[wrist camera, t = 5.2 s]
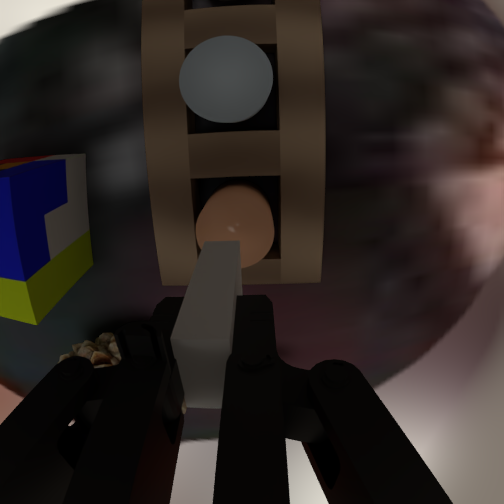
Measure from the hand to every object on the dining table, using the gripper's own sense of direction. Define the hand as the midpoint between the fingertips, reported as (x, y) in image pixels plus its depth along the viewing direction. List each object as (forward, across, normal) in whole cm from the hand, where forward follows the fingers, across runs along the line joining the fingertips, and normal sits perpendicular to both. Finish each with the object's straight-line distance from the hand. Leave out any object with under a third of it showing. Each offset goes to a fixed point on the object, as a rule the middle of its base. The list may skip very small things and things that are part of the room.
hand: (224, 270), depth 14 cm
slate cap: (+9, 0, +8) cm, 13 cm away
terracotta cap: (+11, 0, 0) cm, 11 cm away
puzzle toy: (+12, -18, 0) cm, 22 cm away
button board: (+12, 0, +8) cm, 14 cm away
